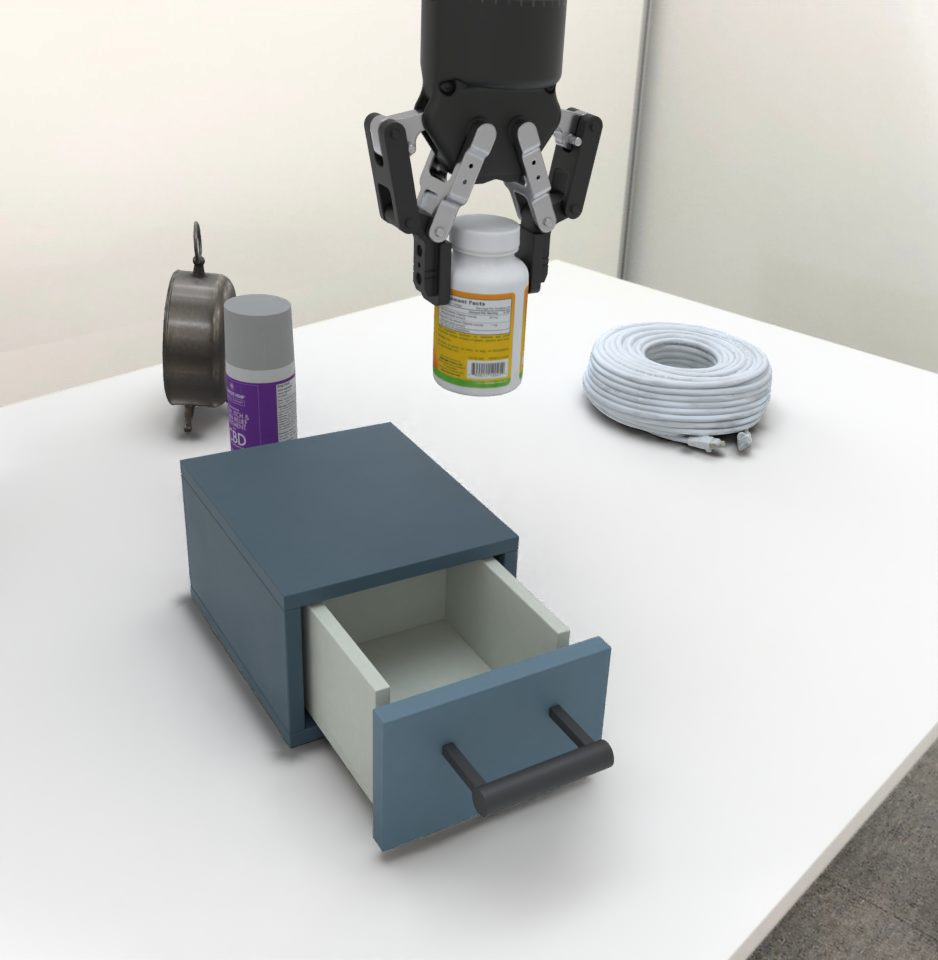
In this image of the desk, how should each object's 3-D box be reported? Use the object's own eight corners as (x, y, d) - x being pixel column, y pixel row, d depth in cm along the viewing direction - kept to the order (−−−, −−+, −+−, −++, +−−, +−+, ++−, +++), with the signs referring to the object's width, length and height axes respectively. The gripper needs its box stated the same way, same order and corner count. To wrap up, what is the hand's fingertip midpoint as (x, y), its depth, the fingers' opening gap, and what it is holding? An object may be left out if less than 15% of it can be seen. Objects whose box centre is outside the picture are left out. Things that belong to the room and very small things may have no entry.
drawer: (650, 821, 61) (667, 697, 58) (427, 919, 54) (431, 786, 50) (461, 621, 75) (465, 512, 72) (265, 678, 68) (258, 560, 65)
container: (221, 504, 87) (207, 308, 80) (254, 477, 91) (244, 289, 84) (279, 516, 86) (271, 320, 79) (310, 489, 90) (305, 300, 83)
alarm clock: (185, 385, 104) (170, 202, 97) (249, 386, 106) (240, 205, 98) (164, 439, 95) (146, 241, 88) (235, 440, 96) (224, 244, 89)
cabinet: (510, 675, 72) (519, 536, 68) (290, 748, 65) (283, 596, 60) (389, 547, 84) (390, 421, 80) (190, 596, 76) (179, 459, 72)
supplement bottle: (469, 357, 75) (475, 204, 71) (539, 380, 73) (551, 224, 68) (413, 381, 71) (416, 220, 66) (486, 407, 69) (495, 242, 64)
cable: (748, 464, 102) (758, 399, 99) (554, 424, 105) (559, 360, 102) (780, 392, 117) (789, 334, 114) (610, 359, 120) (615, 301, 118)
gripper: (570, -21, 68) (549, 264, 76) (334, -33, 60) (337, 288, 68) (649, -2, 63) (618, 302, 71) (402, -12, 55) (397, 333, 63)
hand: (480, 294), depth 69 cm, fingers closed on supplement bottle, 5 cm apart
